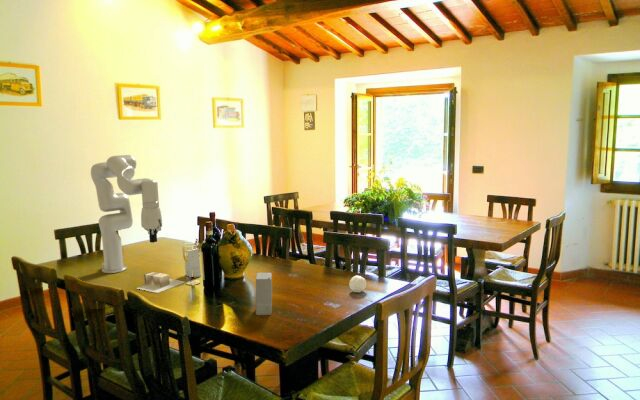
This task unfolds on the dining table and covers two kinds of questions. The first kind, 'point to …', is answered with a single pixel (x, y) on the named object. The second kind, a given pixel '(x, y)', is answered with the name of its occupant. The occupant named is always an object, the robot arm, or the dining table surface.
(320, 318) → the dining table surface
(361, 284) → the geometric ball
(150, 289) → the mat
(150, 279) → the birch block
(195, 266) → the skincare box
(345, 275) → the dining table surface
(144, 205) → the robot arm
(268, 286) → the skincare box
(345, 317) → the dining table surface
